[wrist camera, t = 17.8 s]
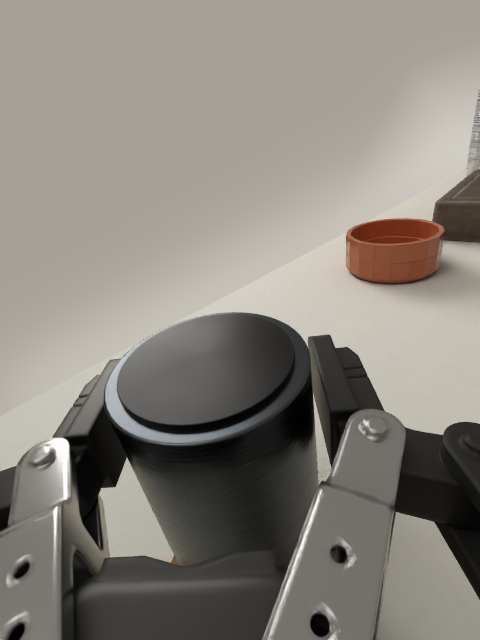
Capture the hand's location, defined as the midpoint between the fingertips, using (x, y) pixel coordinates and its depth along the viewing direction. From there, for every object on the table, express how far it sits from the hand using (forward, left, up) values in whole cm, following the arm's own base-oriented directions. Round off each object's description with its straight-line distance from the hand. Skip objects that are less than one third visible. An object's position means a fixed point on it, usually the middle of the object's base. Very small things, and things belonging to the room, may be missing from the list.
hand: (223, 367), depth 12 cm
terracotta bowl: (+6, +33, -10) cm, 35 cm away
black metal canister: (+1, -2, -9) cm, 9 cm away
